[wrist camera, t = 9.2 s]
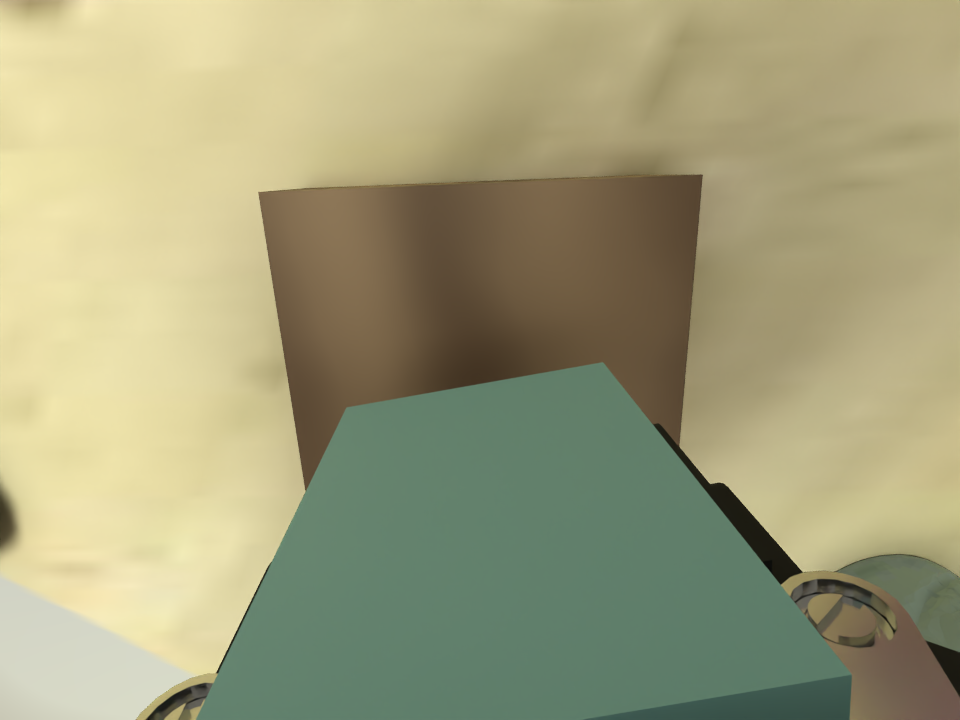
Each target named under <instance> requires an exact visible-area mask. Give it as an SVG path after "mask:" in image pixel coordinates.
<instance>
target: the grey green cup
mask: <svg viewBox="0 0 960 720" xmlns="http://www.w3.org/2000/svg"><path fill="white" fill-rule="evenodd" d="M837 572H838V573H844V574H847V575H851V576H854V577H857V578H861V579H863V580H865V581H867V582H870V583H872V584H874V585H876V586H878V587H880V588H882V589H883V590H884V591H886V592H887V593H888V594H890V595H891V596H893V597H894V598H895V599H897V600H898V602H899V603H900V604H901V605H902V606H903V607H904V609H905V610H906V611H907V612H908V613H909V615H910V617H911V618H912V620H913V622H914V623H915V625H916V627H917V628H918V630H919V631H920V633H921V635H922V636H923V638H924V640H926V641H929V642H932V643H935V644H938V645H940V646H943V647H946V648H949V649H952V650H955V651H958V652H960V578H959V577H958V576H956V575H955V574H954V573H952V572H951V571H949V570H947V569H946V568H944V567H942V566H940V565H938V564H936V563H933V562H931V561H929V560H926V559H923V558H919V557H914V556H910V555H886V556H878V557H873V558H869V559H865V560H862V561H859V562H856V563H854V564H851V565H849V566H847V567H845V568H842V569H841V570H839V571H837Z"/></svg>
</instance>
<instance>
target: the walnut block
mask: <svg viewBox="0 0 960 720" xmlns="http://www.w3.org/2000/svg"><path fill="white" fill-rule="evenodd" d="M702 176H703V175H629V176H604V177H579V178H554V179H529V180H503V181H478V182H453V183H428V184H402V185H377V186H352V187H327V188H303V189H291V190H280V191H268V192H258V193H259V199H260V206H261V212H262V218H263V224H264V231H265V237H266V243H267V250H268V256H269V262H270V269H271V275H272V281H273V288H274V294H275V300H276V307H277V313H278V319H279V326H280V332H281V338H282V345H283V351H284V357H285V364H286V370H287V376H288V383H289V389H290V395H291V402H292V408H293V414H294V421H295V427H296V433H297V440H298V446H299V452H300V458H301V465H302V471H303V477H304V484H305V490H307V488H308V486H309V484H310V482H311V480H312V478H313V476H314V474H315V472H316V469H317V467H318V465H319V463H320V461H321V459H322V457H323V455H324V453H325V451H326V449H327V447H328V445H329V443H330V440H331V438H332V436H333V434H334V432H335V430H336V428H337V426H338V424H339V422H340V420H341V418H342V416H343V414H344V411H345V409H346V408H347V407H352V406H358V405H363V404H369V403H375V402H380V401H386V400H392V399H397V398H403V397H409V396H414V395H420V394H426V393H431V392H437V391H443V390H448V389H454V388H460V387H465V386H471V385H477V384H482V383H488V382H494V381H499V380H505V379H511V378H516V377H522V376H528V375H533V374H539V373H545V372H550V371H556V370H562V369H567V368H573V367H579V366H584V365H590V364H596V363H601V362H603V363H604V364H605V365H606V366H607V368H608V369H609V370H610V372H611V373H612V374H613V375H614V377H615V378H616V379H617V380H618V382H619V383H620V384H621V385H622V387H623V388H624V389H625V390H626V392H627V393H628V394H629V395H630V397H631V398H632V399H633V400H634V402H635V403H636V404H637V405H638V407H639V408H640V409H641V410H642V412H643V413H644V414H645V415H646V417H647V418H648V419H649V420H650V422H651V423H652V424H657V423H659V424H660V425H661V426H662V427H663V428H664V429H665V430H666V432H667V433H668V434H669V435H670V436H671V438H672V439H673V440H674V441H675V443H676V444H677V445H678V446H679V443H680V431H681V419H682V408H683V396H684V385H685V373H686V362H687V350H688V338H689V327H690V315H691V304H692V292H693V280H694V269H695V257H696V246H697V234H698V223H699V211H700V199H701V188H702Z"/></svg>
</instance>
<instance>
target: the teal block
mask: <svg viewBox="0 0 960 720" xmlns="http://www.w3.org/2000/svg"><path fill="white" fill-rule="evenodd" d="M851 685H852V674H851V673H850V671H849V670H848V669H847V668H846V666H845V665H844V664H843V663H842V661H841V660H840V659H839V658H838V656H837V655H836V654H835V653H834V651H833V650H832V649H831V648H830V646H829V645H828V644H827V643H826V641H825V640H824V639H823V638H822V636H821V635H820V634H819V633H818V631H817V630H816V629H815V628H814V626H813V625H812V624H811V623H810V621H809V620H808V619H807V618H806V616H805V615H804V614H803V612H802V611H801V610H800V609H799V607H798V606H797V605H796V604H795V602H794V601H793V600H792V599H791V597H790V596H789V595H788V594H787V592H786V591H785V590H784V589H783V587H782V586H781V585H780V584H779V582H778V581H777V580H776V579H775V577H774V576H773V575H772V574H771V572H770V571H769V570H768V569H767V567H766V566H765V565H764V564H763V562H762V561H761V560H760V559H759V557H758V556H757V555H756V553H755V552H754V551H753V550H752V548H751V547H750V546H749V545H748V543H747V542H746V541H745V540H744V538H743V537H742V536H741V535H740V533H739V532H738V531H737V530H736V528H735V527H734V526H733V525H732V523H731V522H730V521H729V520H728V518H727V517H726V516H725V515H724V513H723V512H722V511H721V510H720V508H719V507H718V506H717V505H716V503H715V502H714V501H713V500H712V498H711V497H710V496H709V495H708V493H707V492H706V491H705V489H704V488H703V487H702V486H701V484H700V483H699V482H698V481H697V479H696V478H695V477H694V476H693V474H692V473H691V472H690V471H689V469H688V468H687V467H686V466H685V464H684V463H683V462H682V461H681V459H680V458H679V457H678V456H677V454H676V453H675V452H674V451H673V449H672V448H671V447H670V446H669V444H668V443H667V442H666V441H665V439H664V438H663V437H662V436H661V434H660V433H659V432H658V431H657V429H656V428H655V427H654V425H653V424H652V423H651V422H650V420H649V419H648V418H647V417H646V415H645V414H644V413H643V412H642V410H641V409H640V408H639V407H638V405H637V404H636V403H635V402H634V400H633V399H632V398H631V397H630V395H629V394H628V393H627V392H626V390H625V389H624V388H623V387H622V385H621V384H620V383H619V382H618V380H617V379H616V378H615V377H614V375H613V374H612V373H611V372H610V370H609V369H608V368H607V366H606V365H605V364H604V363H603V362H601V363H596V364H590V365H584V366H579V367H573V368H567V369H562V370H556V371H550V372H545V373H539V374H533V375H528V376H522V377H516V378H511V379H505V380H499V381H494V382H488V383H482V384H477V385H471V386H465V387H460V388H454V389H448V390H443V391H437V392H431V393H426V394H420V395H414V396H409V397H403V398H397V399H392V400H386V401H380V402H375V403H369V404H363V405H358V406H352V407H347V408H346V409H345V411H344V414H343V416H342V418H341V420H340V422H339V424H338V426H337V428H336V430H335V432H334V434H333V436H332V438H331V440H330V443H329V445H328V447H327V449H326V451H325V453H324V455H323V457H322V459H321V461H320V463H319V465H318V467H317V469H316V472H315V474H314V476H313V478H312V480H311V482H310V484H309V486H308V488H307V490H306V492H305V494H304V496H303V498H302V501H301V503H300V505H299V507H298V509H297V511H296V513H295V515H294V517H293V519H292V521H291V523H290V525H289V527H288V530H287V532H286V534H285V536H284V538H283V540H282V542H281V544H280V546H279V548H278V550H277V552H276V554H275V556H274V559H273V561H272V563H271V565H270V567H269V569H268V571H267V573H266V575H265V577H264V579H263V581H262V583H261V585H260V588H259V590H258V592H257V594H256V596H255V598H254V600H253V602H252V604H251V606H250V608H249V610H248V612H247V614H246V617H245V619H244V621H243V623H242V625H241V627H240V629H239V631H238V633H237V635H236V637H235V639H234V641H233V643H232V646H231V648H230V650H229V652H228V654H227V656H226V658H225V660H224V662H223V664H222V666H221V668H220V670H219V672H218V675H217V677H216V679H215V681H214V683H213V685H212V687H211V689H210V691H209V693H208V695H207V697H206V699H205V701H204V704H203V706H202V708H201V710H200V712H199V714H198V716H197V718H196V720H850V703H851Z"/></svg>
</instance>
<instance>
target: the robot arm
mask: <svg viewBox="0 0 960 720" xmlns="http://www.w3.org/2000/svg"><path fill="white" fill-rule="evenodd" d="M653 425H654V427H655V428H656V429H657V431H658V432H659V433H660V434H661V436H662V437H663V438H664V439H665V441H666V442H667V443H668V444H669V446H670V447H671V448H672V449H673V451H674V452H675V453H676V454H677V456H678V457H679V458H680V459H681V461H682V462H683V463H684V464H685V466H686V467H687V468H688V469H689V471H690V472H691V473H692V474H693V476H694V477H695V478H696V479H697V481H698V482H699V483H700V484H701V486H702V487H703V488H704V489H705V491H706V492H707V493H708V495H709V496H710V497H711V498H712V500H713V501H714V502H715V503H716V505H717V506H718V507H719V508H720V510H721V511H722V512H723V513H724V515H725V516H726V517H727V518H728V520H729V521H730V522H731V523H732V525H733V526H734V527H735V528H736V530H737V531H738V532H739V533H740V535H741V536H742V537H743V538H744V540H745V541H746V542H747V543H748V545H749V546H750V547H751V548H752V550H753V551H754V552H755V553H756V555H757V556H758V557H759V559H760V560H761V561H762V562H763V564H764V565H765V566H766V567H767V569H768V570H769V571H770V572H771V574H772V575H773V576H774V577H775V579H776V580H777V581H778V582H779V584H780V585H781V586H782V587H783V589H784V590H785V591H786V592H787V594H788V595H789V596H790V597H791V599H792V600H793V601H794V602H795V604H796V605H797V606H798V607H799V609H800V610H801V611H802V612H803V614H804V615H805V616H806V618H807V619H808V620H809V621H810V623H811V624H812V625H813V626H814V628H815V629H816V630H817V631H818V633H819V634H820V635H821V636H822V638H823V639H824V640H825V641H826V643H827V644H828V645H829V646H830V648H831V649H832V650H833V651H834V653H835V654H836V655H837V656H838V658H839V659H840V660H841V661H842V663H843V664H844V665H845V666H846V668H847V669H848V670H849V671H850V673H851V674H852V685H851V703H850V720H960V652H958V651H955V650H952V649H949V648H946V647H943V646H940V645H938V644H935V643H932V642H929V641H926V640H924V638H923V636H922V635H921V633H920V631H919V630H918V628H917V627H916V625H915V623H914V622H913V620H912V618H911V617H910V615H909V613H908V612H907V611H906V610H905V609H904V607H903V606H902V605H901V604H900V603H899V602H898V600H897V599H895V598H894V597H893V596H891V595H890V594H888V593H887V592H886V591H884V590H883V589H882V588H880V587H878V586H876V585H874V584H872V583H870V582H867V581H865V580H863V579H861V578H857V577H854V576H851V575H847V574H844V573H838V572H829V571H813V572H804V573H803V572H802V571H801V570H800V569H799V568H798V566H797V565H796V564H795V563H794V562H793V561H792V560H791V558H790V557H789V556H788V555H787V554H786V553H785V552H784V551H783V549H782V548H781V547H780V546H779V545H778V544H777V543H776V541H775V540H774V539H773V538H772V537H771V536H770V535H769V533H768V532H767V531H766V530H765V529H764V528H763V527H762V525H761V524H760V523H759V522H758V521H757V520H756V519H755V517H754V516H753V515H752V514H751V513H750V512H749V511H748V509H747V508H746V507H745V506H744V505H743V504H742V503H741V501H740V500H739V499H738V498H737V497H736V496H735V495H734V493H733V492H732V491H731V490H730V489H729V488H728V487H727V486H726V485H725V484H723V483H715V484H709V483H708V481H707V480H706V479H705V478H704V476H703V475H702V474H701V473H700V472H699V470H698V469H697V468H696V467H695V466H694V464H693V463H692V462H691V461H690V460H689V458H688V457H687V456H686V455H685V453H684V452H683V451H682V450H681V449H680V447H679V446H678V445H677V444H676V443H675V441H674V440H673V439H672V438H671V436H670V435H669V434H668V433H667V432H666V430H665V429H664V428H663V427H662V426H661V425H660V424H659V423H657V424H653ZM271 563H272V562H271ZM271 563H270V565H271ZM270 565H269V566H268V568H267V570H266V572H265V574H264V576H263V578H262V580H261V582H260V584H259V586H258V588H257V590H256V592H255V594H254V596H253V598H252V600H251V602H250V605H249V607H248V609H247V611H246V613H245V615H244V617H243V619H242V621H241V623H240V625H239V627H238V629H237V631H236V633H235V635H234V637H233V639H232V642H231V644H230V646H229V648H228V650H227V652H226V654H225V656H224V658H223V660H222V662H221V664H220V666H219V668H218V670H217V672H216V673H215V674H204V675H201V676H197V677H193V678H190V679H188V680H186V681H184V682H182V683H180V684H178V685H176V686H174V687H172V688H171V689H169V690H168V691H166V692H165V693H164V694H162V695H161V696H159V697H158V698H156V699H155V700H154V701H153V702H152V703H151V704H150V705H149V706H148V707H147V708H146V709H145V710H144V711H142V712H141V714H140V715H139V716H138V717H137V719H136V720H196V718H197V716H198V714H199V712H200V710H201V708H202V706H203V704H204V701H205V699H206V697H207V695H208V693H209V691H210V689H211V687H212V685H213V683H214V681H215V679H216V677H217V675H218V672H219V670H220V668H221V666H222V664H223V662H224V660H225V658H226V656H227V654H228V652H229V650H230V648H231V646H232V643H233V641H234V639H235V637H236V635H237V633H238V631H239V629H240V627H241V625H242V623H243V621H244V619H245V617H246V614H247V612H248V610H249V608H250V606H251V604H252V602H253V600H254V598H255V596H256V594H257V592H258V590H259V588H260V585H261V583H262V581H263V579H264V577H265V575H266V573H267V571H268V569H269V567H270Z"/></svg>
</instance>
